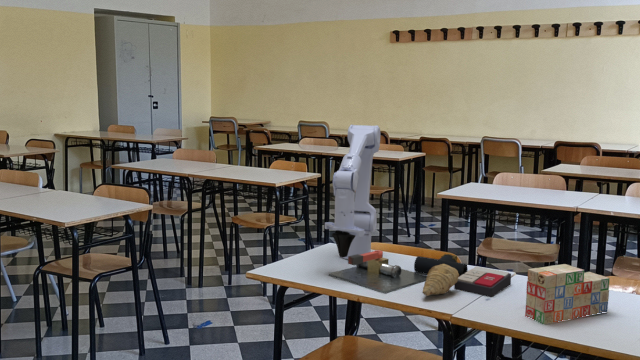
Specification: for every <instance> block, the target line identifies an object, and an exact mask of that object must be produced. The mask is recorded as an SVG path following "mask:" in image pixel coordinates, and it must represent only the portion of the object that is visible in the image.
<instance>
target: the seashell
mask: <svg viewBox="0 0 640 360" xmlns="http://www.w3.org/2000/svg"><path fill="white" fill-rule="evenodd" d="M426 276H427V278H426V281H424V286H423V287H422V292H421V293H422V294H423V295H424V296H431V295H444V294H446V293H449V291H450V289H451V288H452V287H453V286H454V284H455V283H457V281H458V277H459V273H458V271H457V270H456V269H455V268H453V267H451V266H449V265H446V264H440V265H437V266H434V267H432V268H431V269H430V270H429V272H428V274H426Z"/></svg>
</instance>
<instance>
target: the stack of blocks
mask: <svg viewBox="0 0 640 360" xmlns="http://www.w3.org/2000/svg"><path fill="white" fill-rule="evenodd" d="M610 279H611V278H610V277H607V276H604V275H602V274H597V273H596V272H595V273H594V272H591V271H586V272H585V269H582V268H579V267H575V266H573V265H570V264H566V263H563V264H555V265H548V266H543V267H534V268H528V270H527V281H526V289H525V291H526V292H525V293H526V300H525V313H524V316H525V317H526V316H527V317H526V318H528V317H530V318H532V319H534V320H533V321H535V320H536V321H535V322H537V321H538V322H537V323H539V322H540V323H539V324H541V323H542V324H541V325H543V324H544V325H549V324H548V323H550V324H553V323H552V322H557V323H559V322H558V321H562V320H568V319H572V320H574V319H573V318H577V317H582V316H586V315H592V314H597V313H602V312H607V313H608V308H609V298H610V290H609V289H610ZM530 318H529V319H530ZM532 319H531V320H532ZM568 321H569V320H568ZM562 322H563V321H562Z"/></svg>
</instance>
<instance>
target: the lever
mask: <svg viewBox="0 0 640 360" xmlns="http://www.w3.org/2000/svg"><path fill="white" fill-rule="evenodd" d="M383 252H384V251H383V250H381V249H380V250H379V249H376V250H374V251H373V250H372V251H371V252H369V253H364V254H360V255H359V254H356V255H352V256H348V259H347V265H351V266H356V265H357V264H361V263H363V262H365V261H369V260H373V259H377V258H384V257H383V255H384V253H383Z"/></svg>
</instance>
